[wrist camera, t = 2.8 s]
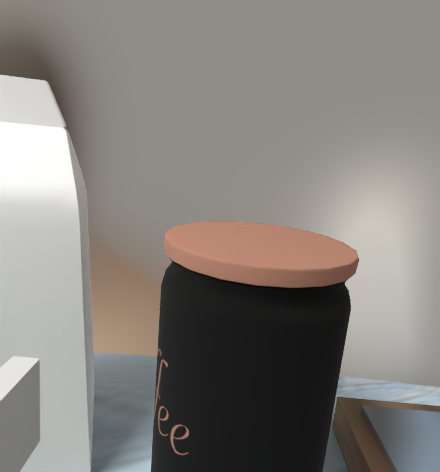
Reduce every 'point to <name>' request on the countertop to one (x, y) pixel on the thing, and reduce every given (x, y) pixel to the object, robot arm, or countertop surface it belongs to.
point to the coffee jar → (249, 347)
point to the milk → (46, 270)
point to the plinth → (387, 435)
